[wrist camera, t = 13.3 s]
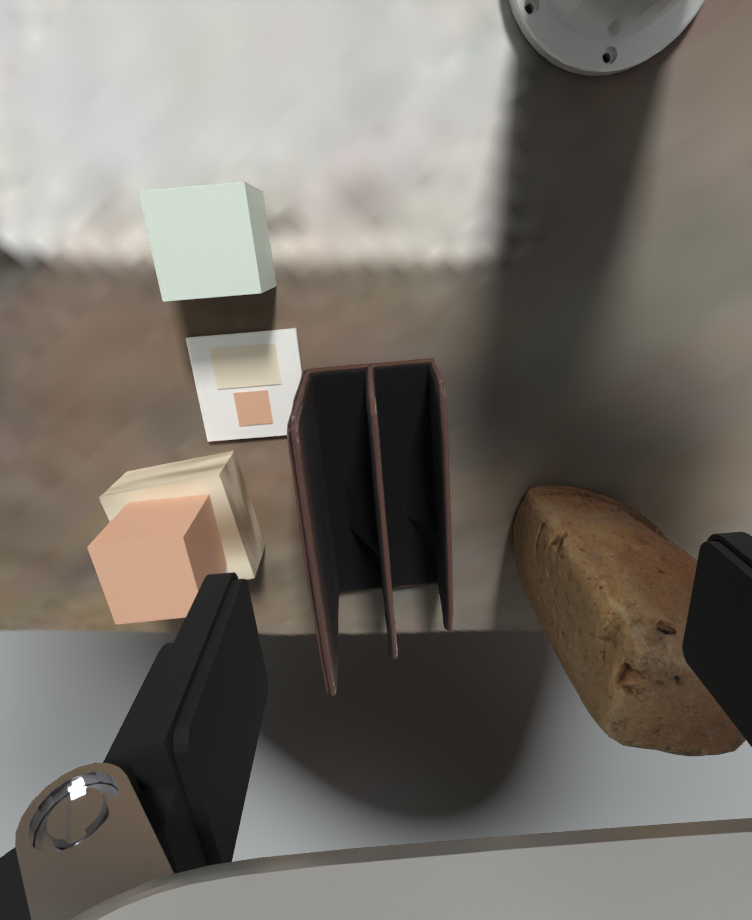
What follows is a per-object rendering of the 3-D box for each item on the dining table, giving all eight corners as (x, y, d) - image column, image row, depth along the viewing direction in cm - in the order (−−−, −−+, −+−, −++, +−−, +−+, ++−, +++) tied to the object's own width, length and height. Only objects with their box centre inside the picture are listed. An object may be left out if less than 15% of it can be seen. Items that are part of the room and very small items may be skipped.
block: (496, 549, 46) (586, 755, 27) (521, 471, 43) (640, 643, 24) (613, 567, 47) (777, 778, 28) (644, 492, 44) (849, 672, 25)
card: (187, 337, 38) (185, 338, 38) (296, 328, 38) (295, 329, 38) (209, 439, 41) (207, 442, 41) (310, 431, 41) (309, 433, 41)
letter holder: (332, 585, 47) (320, 716, 34) (302, 367, 40) (272, 428, 26) (443, 576, 47) (473, 704, 34) (434, 356, 39) (469, 411, 26)
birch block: (127, 470, 42) (99, 497, 38) (235, 449, 42) (219, 474, 37) (166, 562, 46) (144, 598, 41) (265, 544, 45) (254, 578, 41)
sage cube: (173, 199, 35) (137, 190, 29) (263, 191, 35) (244, 181, 29) (192, 293, 37) (162, 301, 32) (276, 286, 37) (261, 293, 32)
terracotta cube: (127, 502, 38) (87, 547, 32) (209, 494, 38) (182, 537, 32) (149, 571, 40) (115, 624, 35) (226, 564, 40) (204, 615, 35)
